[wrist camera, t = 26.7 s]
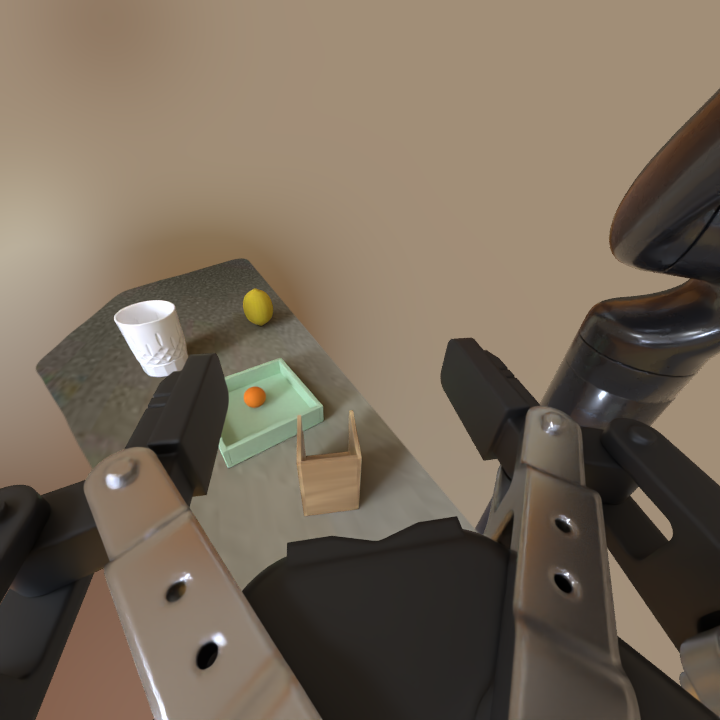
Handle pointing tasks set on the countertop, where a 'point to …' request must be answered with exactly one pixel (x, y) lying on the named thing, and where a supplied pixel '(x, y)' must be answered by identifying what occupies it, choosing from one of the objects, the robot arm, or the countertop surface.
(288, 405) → the tray
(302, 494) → the open wooden box
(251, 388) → the ball
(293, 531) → the countertop surface
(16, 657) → the robot arm
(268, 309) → the lemon
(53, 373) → the countertop surface
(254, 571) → the countertop surface
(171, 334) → the white cup
